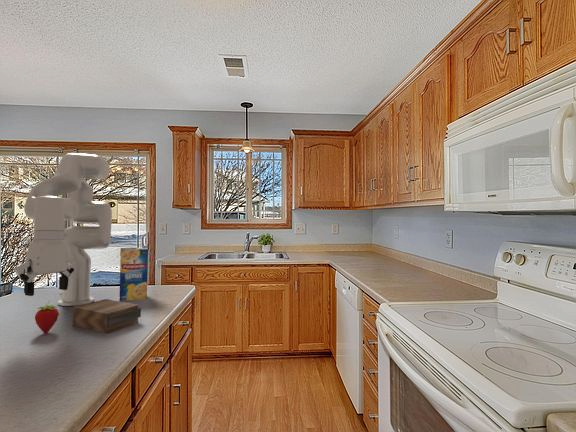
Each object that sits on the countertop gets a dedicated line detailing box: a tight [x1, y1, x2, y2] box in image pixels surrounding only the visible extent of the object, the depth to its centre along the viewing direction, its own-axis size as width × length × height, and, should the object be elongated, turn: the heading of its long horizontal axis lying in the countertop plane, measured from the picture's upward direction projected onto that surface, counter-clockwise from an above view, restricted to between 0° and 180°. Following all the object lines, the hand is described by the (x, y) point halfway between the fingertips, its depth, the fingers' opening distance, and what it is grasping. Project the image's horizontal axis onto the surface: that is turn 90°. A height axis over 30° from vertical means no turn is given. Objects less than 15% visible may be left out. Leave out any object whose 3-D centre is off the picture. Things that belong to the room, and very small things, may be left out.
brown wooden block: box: [72, 298, 142, 334], centre depth 110 cm, size 17×12×6 cm
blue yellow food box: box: [118, 247, 149, 302], centre depth 144 cm, size 7×11×22 cm, turn 117°
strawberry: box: [34, 300, 60, 334], centre depth 100 cm, size 6×8×10 cm
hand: (47, 292), depth 99 cm, fingers open, 9 cm apart
